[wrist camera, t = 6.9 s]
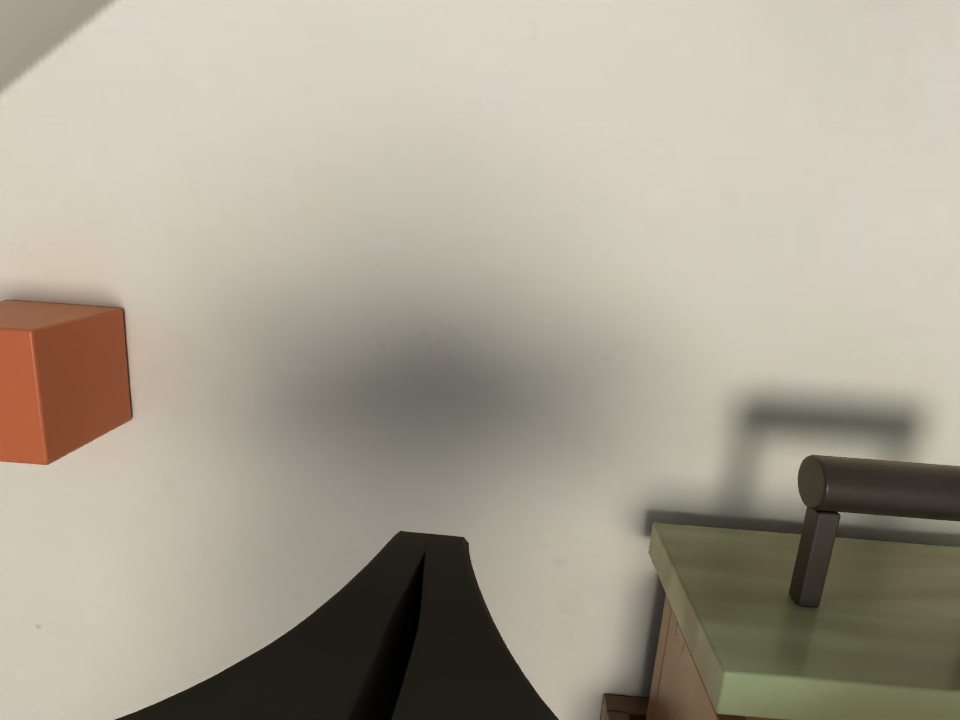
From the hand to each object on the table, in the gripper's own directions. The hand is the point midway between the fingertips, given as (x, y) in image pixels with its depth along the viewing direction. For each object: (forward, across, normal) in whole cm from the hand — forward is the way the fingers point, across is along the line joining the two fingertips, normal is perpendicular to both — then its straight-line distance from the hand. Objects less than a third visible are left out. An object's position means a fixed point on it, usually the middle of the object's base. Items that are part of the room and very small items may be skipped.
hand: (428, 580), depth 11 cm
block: (+9, +14, -1) cm, 17 cm away
